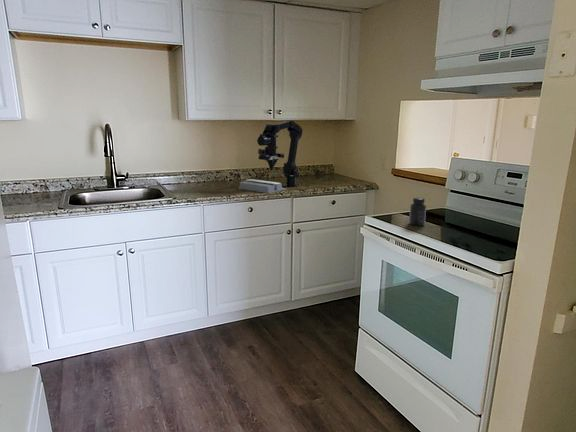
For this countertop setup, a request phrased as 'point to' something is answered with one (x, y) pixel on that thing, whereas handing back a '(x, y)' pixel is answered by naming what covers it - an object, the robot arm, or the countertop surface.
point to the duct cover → (262, 181)
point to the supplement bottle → (417, 212)
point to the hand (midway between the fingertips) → (271, 170)
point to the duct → (261, 187)
